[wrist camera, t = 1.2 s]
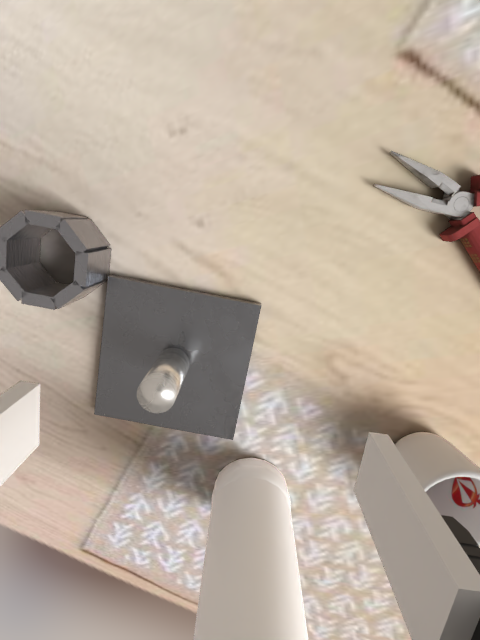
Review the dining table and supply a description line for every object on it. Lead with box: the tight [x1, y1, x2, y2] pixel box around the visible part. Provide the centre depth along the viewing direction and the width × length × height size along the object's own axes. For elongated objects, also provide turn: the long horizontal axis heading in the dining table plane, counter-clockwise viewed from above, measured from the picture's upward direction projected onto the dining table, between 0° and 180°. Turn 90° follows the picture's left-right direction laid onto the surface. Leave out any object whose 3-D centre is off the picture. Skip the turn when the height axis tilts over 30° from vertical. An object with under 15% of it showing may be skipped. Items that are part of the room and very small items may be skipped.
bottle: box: [193, 458, 308, 640], centre depth 26 cm, size 8×8×30 cm
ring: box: [0, 210, 111, 310], centre depth 32 cm, size 7×7×5 cm
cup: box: [395, 432, 480, 545], centre depth 35 cm, size 11×8×8 cm
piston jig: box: [94, 275, 261, 440], centre depth 33 cm, size 14×14×8 cm
